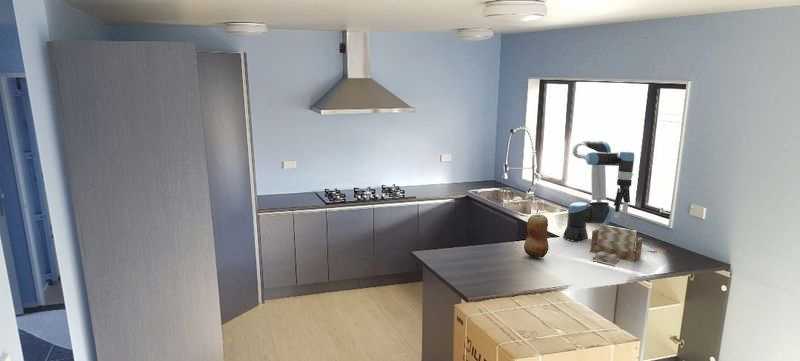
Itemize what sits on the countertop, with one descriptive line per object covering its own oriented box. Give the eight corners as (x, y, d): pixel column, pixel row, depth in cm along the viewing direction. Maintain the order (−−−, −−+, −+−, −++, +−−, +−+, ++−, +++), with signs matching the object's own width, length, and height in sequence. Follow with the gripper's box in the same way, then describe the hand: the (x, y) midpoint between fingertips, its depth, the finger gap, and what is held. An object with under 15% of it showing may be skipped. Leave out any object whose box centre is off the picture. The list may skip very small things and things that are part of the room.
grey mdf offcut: (595, 258, 284) (596, 253, 283) (599, 255, 289) (599, 251, 288) (612, 261, 278) (613, 257, 278) (615, 259, 283) (616, 254, 283)
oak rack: (588, 254, 298) (590, 231, 296) (596, 249, 307) (598, 228, 305) (634, 264, 281) (637, 241, 279) (641, 259, 290) (644, 237, 288)
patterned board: (596, 251, 300) (599, 224, 297) (598, 250, 302) (601, 224, 299) (632, 259, 287) (635, 231, 284) (633, 258, 288) (636, 230, 286)
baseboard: (638, 253, 303) (656, 253, 305) (638, 249, 303) (656, 248, 305) (609, 238, 333) (626, 238, 335) (609, 234, 333) (626, 234, 335)
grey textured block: (592, 262, 286) (593, 257, 285) (597, 259, 291) (597, 254, 290) (614, 267, 278) (614, 262, 277) (618, 264, 283) (619, 259, 282)
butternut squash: (518, 257, 289) (521, 214, 285) (530, 252, 299) (533, 211, 295) (541, 263, 280) (544, 219, 276) (552, 258, 290) (555, 215, 285)
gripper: (624, 182, 275) (620, 220, 279) (638, 177, 294) (634, 212, 297) (610, 180, 280) (606, 217, 283) (624, 175, 298) (621, 210, 302)
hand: (620, 215), depth 290 cm, fingers open, 13 cm apart
